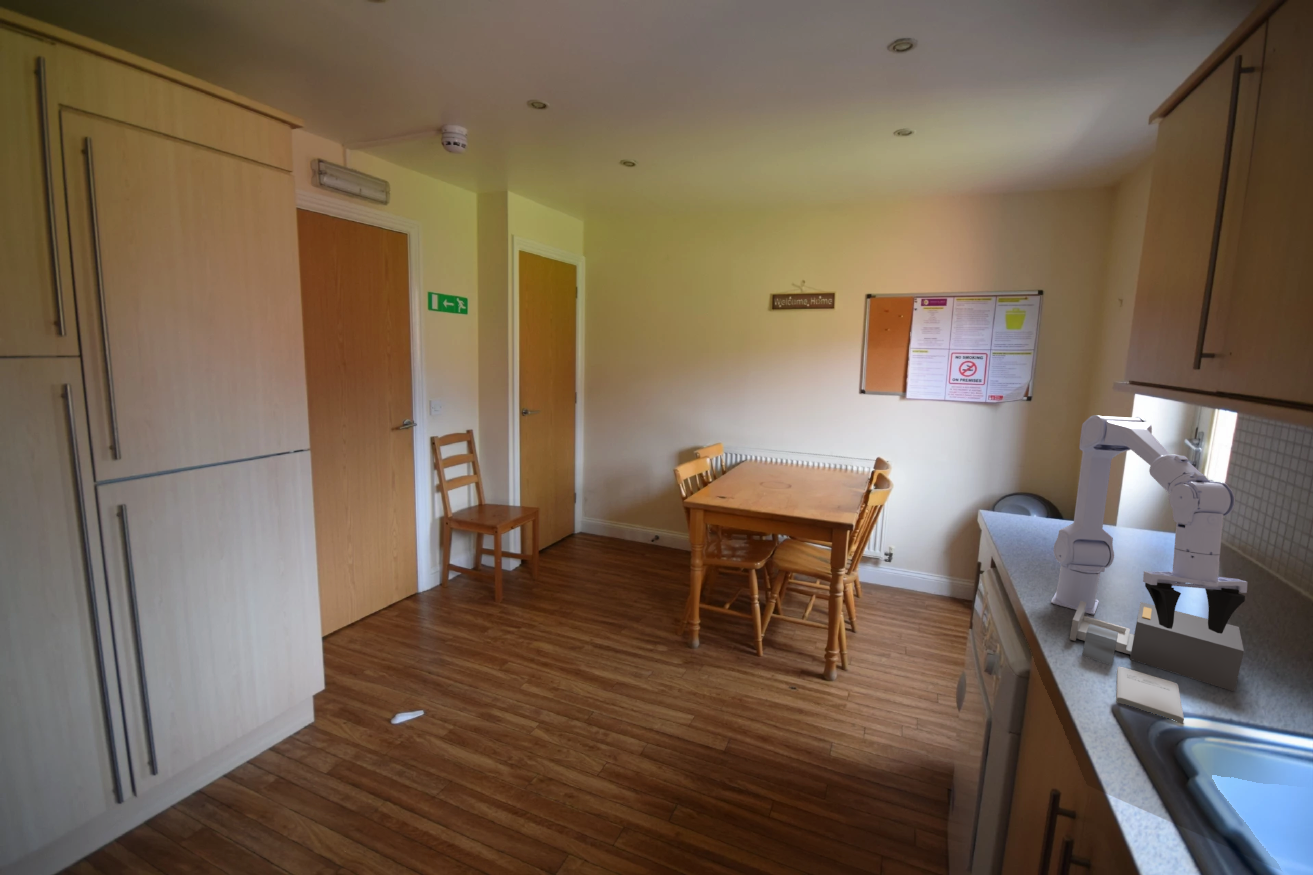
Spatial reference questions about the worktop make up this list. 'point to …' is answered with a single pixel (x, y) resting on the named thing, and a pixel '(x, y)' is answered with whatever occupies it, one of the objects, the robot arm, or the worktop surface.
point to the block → (1100, 644)
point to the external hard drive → (1149, 693)
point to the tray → (1082, 624)
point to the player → (1188, 647)
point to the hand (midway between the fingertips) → (1190, 628)
